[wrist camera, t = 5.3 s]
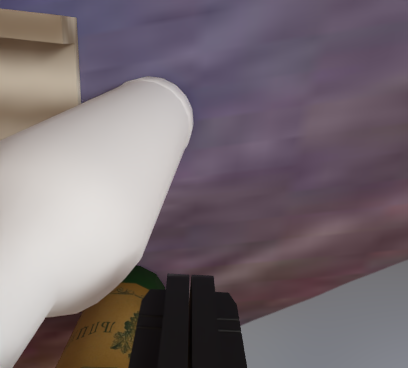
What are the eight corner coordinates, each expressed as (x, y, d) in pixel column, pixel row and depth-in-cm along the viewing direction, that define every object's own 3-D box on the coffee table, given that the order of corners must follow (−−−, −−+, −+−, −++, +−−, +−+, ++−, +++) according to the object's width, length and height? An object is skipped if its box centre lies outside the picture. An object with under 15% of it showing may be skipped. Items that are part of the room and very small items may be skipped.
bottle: (113, 151, 33) (-412, 669, 6) (112, 70, 30) (-1043, 407, 3) (191, 161, 33) (11, 739, 6) (198, 80, 30) (-127, 547, 3)
